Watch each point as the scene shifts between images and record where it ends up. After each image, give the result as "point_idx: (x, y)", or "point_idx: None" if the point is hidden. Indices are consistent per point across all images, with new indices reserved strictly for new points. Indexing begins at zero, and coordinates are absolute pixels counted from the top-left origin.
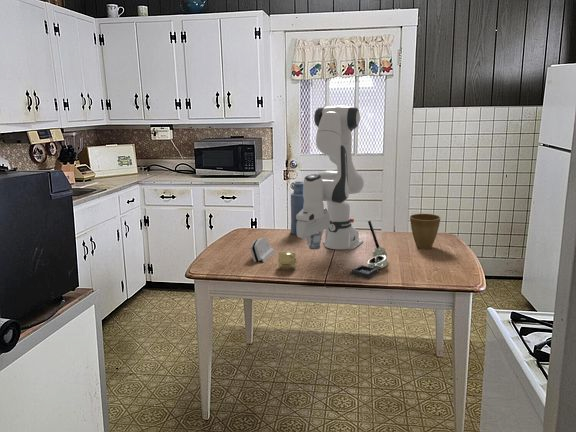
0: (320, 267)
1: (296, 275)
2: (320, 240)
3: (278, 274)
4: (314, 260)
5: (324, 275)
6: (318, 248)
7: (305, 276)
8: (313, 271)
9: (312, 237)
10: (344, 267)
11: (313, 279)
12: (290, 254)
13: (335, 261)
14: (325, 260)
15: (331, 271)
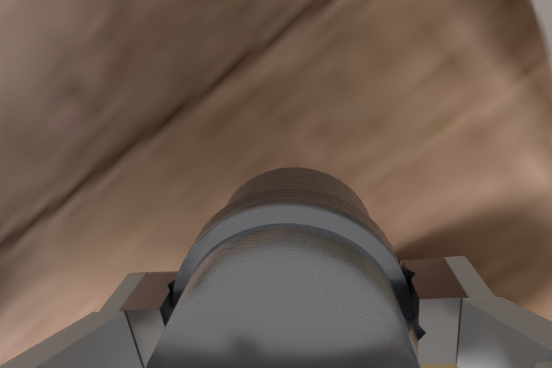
0: (230, 154)
1: (483, 175)
2: (223, 223)
3: (537, 276)
4: (164, 267)
5: (346, 6)
6: (297, 170)
7: (462, 110)
8: (331, 137)
9: (416, 354)
10: (92, 13)
11: (486, 9)
12: (423, 366)
13: (65, 156)
14: (107, 218)
15: (234, 29)
